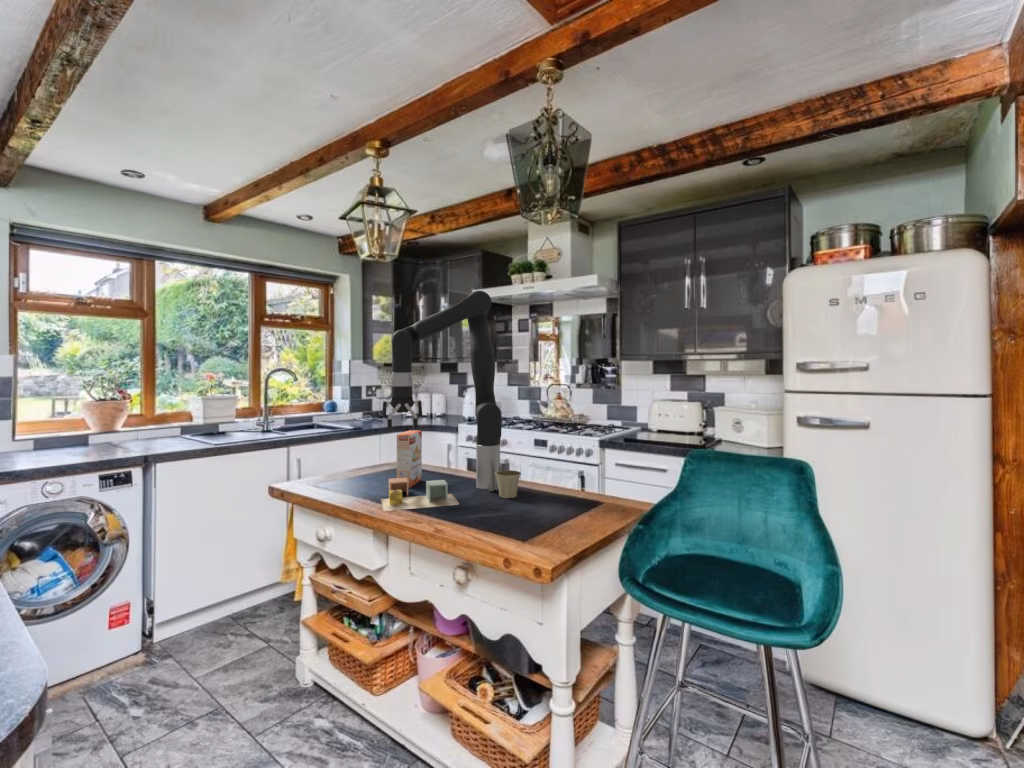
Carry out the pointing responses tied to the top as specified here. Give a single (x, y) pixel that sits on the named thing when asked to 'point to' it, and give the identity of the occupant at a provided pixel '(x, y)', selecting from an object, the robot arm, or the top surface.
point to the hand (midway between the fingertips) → (402, 429)
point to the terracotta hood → (399, 484)
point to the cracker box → (409, 456)
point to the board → (419, 502)
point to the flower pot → (508, 483)
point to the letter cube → (395, 497)
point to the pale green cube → (436, 489)
